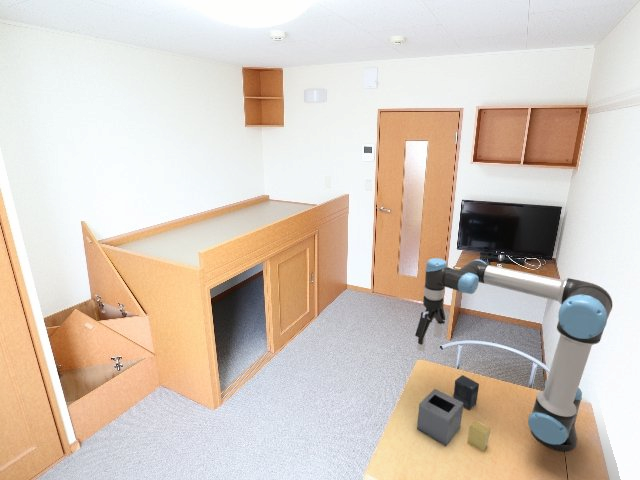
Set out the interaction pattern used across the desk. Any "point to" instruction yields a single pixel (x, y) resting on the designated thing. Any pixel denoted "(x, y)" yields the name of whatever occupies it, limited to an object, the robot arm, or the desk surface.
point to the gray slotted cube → (440, 416)
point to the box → (466, 391)
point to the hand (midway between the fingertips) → (429, 343)
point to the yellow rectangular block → (478, 435)
